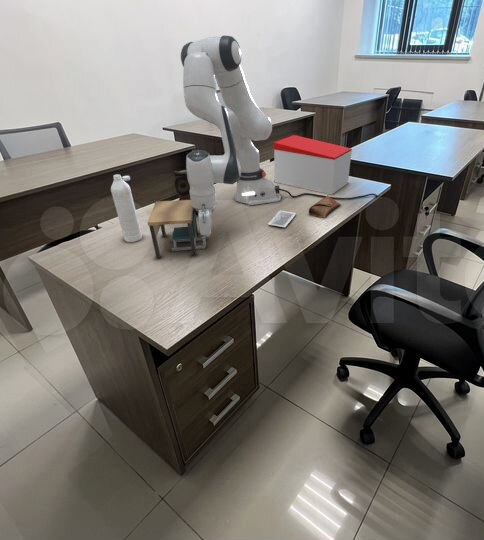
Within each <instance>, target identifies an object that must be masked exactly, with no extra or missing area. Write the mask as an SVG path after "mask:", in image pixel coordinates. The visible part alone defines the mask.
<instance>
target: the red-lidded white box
mask: <svg viewBox="0 0 484 540" xmlns="http://www.w3.org/2000/svg"><path fill="white" fill-rule="evenodd" d="M273 151H274V152H273V158H274V162H273V164H274V167H273V169H274V170H273V171H274V174H273V175H274V179H273V180H274V182H273V183H277V184H282V185H287V186H291V187H296V188H300V189H304V190H310V191H313V192H318V193H323V194H327V195H333V194H334V193H336V192H338V191H339V190H341V189H342V188H343V187H345V186H346V185H347V184H348V183H349V176H350V168H351V161H352V160H351V158H352V151H353V149H352V148H350V147H346V146H342V145H338V144H334V143H329V142H326V141H321V140H317V139H314V138H309V137H304V136H300V135H296V134H292V135H290V136H288V137H285V138H282V139H280V140H277V141H274V142H273ZM347 181H348V182H347Z"/></svg>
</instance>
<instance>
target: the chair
mask: <svg viewBox="0 0 484 540" xmlns="http://www.w3.org/2000/svg"><path fill="white" fill-rule="evenodd" d="M191 224H192V230H193V237H194V243H195V250H202V249H203V250H204V249H206V247H207V242H206V241H207V240H206V239H207V237H206V236H205V235H201V236H202V237H198V235H197V234H196V223H195V216H194V212H193V216H192V222H191ZM171 240H172V242H173V247H171V252H174V251H176V252H177V251H189V250H190V251H192V249H191V245H188V246H178V245H177V243H185V242H190V237H189V231H188V226H177V227H173V230H172V236H171ZM199 241H202V245H197V242H199Z"/></svg>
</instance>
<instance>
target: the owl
mask: <svg viewBox="0 0 484 540" xmlns="http://www.w3.org/2000/svg"><path fill="white" fill-rule="evenodd" d="M173 176H174V184H173V185H174V188H175V189H174V190H175V191H176V193H177V196H178V200H191V199H190V185H189V182H188V178H187V172H186V169H183V170H180V171H173ZM195 214H196V217H197V216H198V215H199V212H198V211H197V210H196V208H195ZM198 217H199V216H198Z"/></svg>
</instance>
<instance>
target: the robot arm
mask: <svg viewBox="0 0 484 540" xmlns="http://www.w3.org/2000/svg"><path fill="white" fill-rule="evenodd" d="M180 61H181V65H182V67H183V72H182V87H183V90H182V91H183V99H184V103H185V107H186V108H187V110H188V111H189V113H191V114H192V115H193V116H194V117H197V118H198V119H201V120H203V121H206V122H208V123H211V124H213V125H214V126H215V127H217V128H218V130H219V132H220V137H221V140H222V147H223V150H224V154H222V155H210V153H209V152H208V151H206V150H202V149H197V150H192V151H190V152H189V153H187V154H186V158H185V159H186V160H185V161H186V162H185V163H186V164H185V165H186V166H185V170H186V172H187V178H188V182H189V185H190V199H191V205H192V207H194V208H196V210H197V211H198V212H199V215H198V226H199V232H200V233H199V234H200V235H201V236H203V235H205V236H206V238H209V237H210V236H211V235H212V216H213V215H212V212H213V210H214V209H215V206H217V204H218V202H217V193H216V188H215V185H214V184H225V185H234V184H236V188H235V196H234V200H235V201H236V202H238V203H242V204H246V205H247V206H255V205H262V204H268V203H269V204H270V203H278V202H280V201H281V199H282V196H281V192H283V193H284V192H285V193H287V194H288V196H290V197H291V198H300V197H302V196H314V197H318V198H319V197H320V198H325V197H326V196H327V195H323V194H316V193H311V192H303V193H299V194H298V195H292V193H291V192H290V191H289V190H286V189H283V188H280V185H276V184H275V182H273V181H272V180H270V179H269V178H268V177H266V176H267V173H266V171H265V170H264V169H263V168H261V167H260V166H261V163H260V162H261V161H260V160H261V159H260V151H259V150H258V148H256V146H255V145H254V144H253V142H252V141H257V142H258V141H266V140H268V139H269V138H270V136H271V135H272V132H273V124H272V120H271V118H270V117H269V116H268V115H266V114H265V113H264V112H263V111H262V110H261V108H259V106H258V104H257V103H256V102H255V100H254V99H253V96H252V95H251V93H250V89H249V86H248V84H247V80H246V78H245V74H244V71H243V69H242V66H241V62H242V51H241V47H240V44H239V42H238V41H237V40H236V39H235V38H234V36H231V35H221V36H208V37H205V38H203V39H198V40H196V41H190V42H187V43H185V44H184V45H183V46H182V48H181V51H180ZM217 87H218V89H219V92H220V95H221V99H222V100H223V103H224V105H225V106H224V105H223V104H222V103H221V102H220V100H219V96H218V93H217V91H218V90H217ZM226 107H227V108H228V109H229V110H227V108H226ZM370 196H374V197H376V198H379V195H377V194H376V193H368V194H364V195H358V196H357V195H356V196H352V197H351V196H350V197H335V196H329V197H330V198H332V199H333V200H355V199H361V198H365V197H370Z"/></svg>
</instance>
